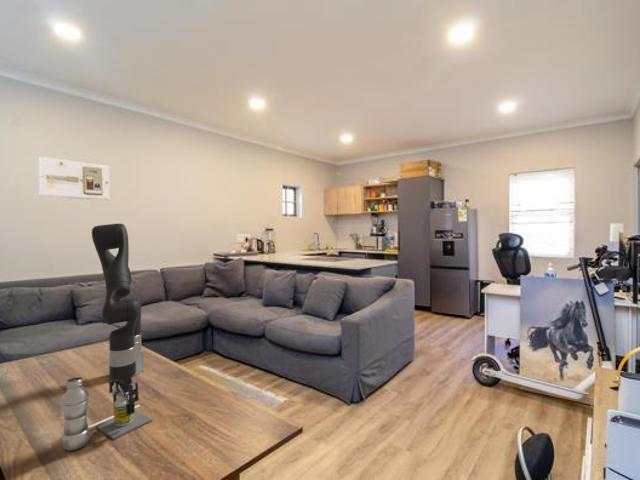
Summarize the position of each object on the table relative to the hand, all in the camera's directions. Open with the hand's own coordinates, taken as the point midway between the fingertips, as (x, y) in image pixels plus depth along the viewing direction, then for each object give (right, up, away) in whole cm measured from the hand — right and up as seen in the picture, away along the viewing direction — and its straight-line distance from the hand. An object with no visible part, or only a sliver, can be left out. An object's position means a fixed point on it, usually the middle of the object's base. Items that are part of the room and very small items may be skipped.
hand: (123, 410), depth 111 cm
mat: (0, -5, 0) cm, 5 cm away
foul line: (-7, -5, +3) cm, 9 cm away
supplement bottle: (0, -4, 0) cm, 4 cm away
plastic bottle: (-7, -5, -11) cm, 15 cm away
